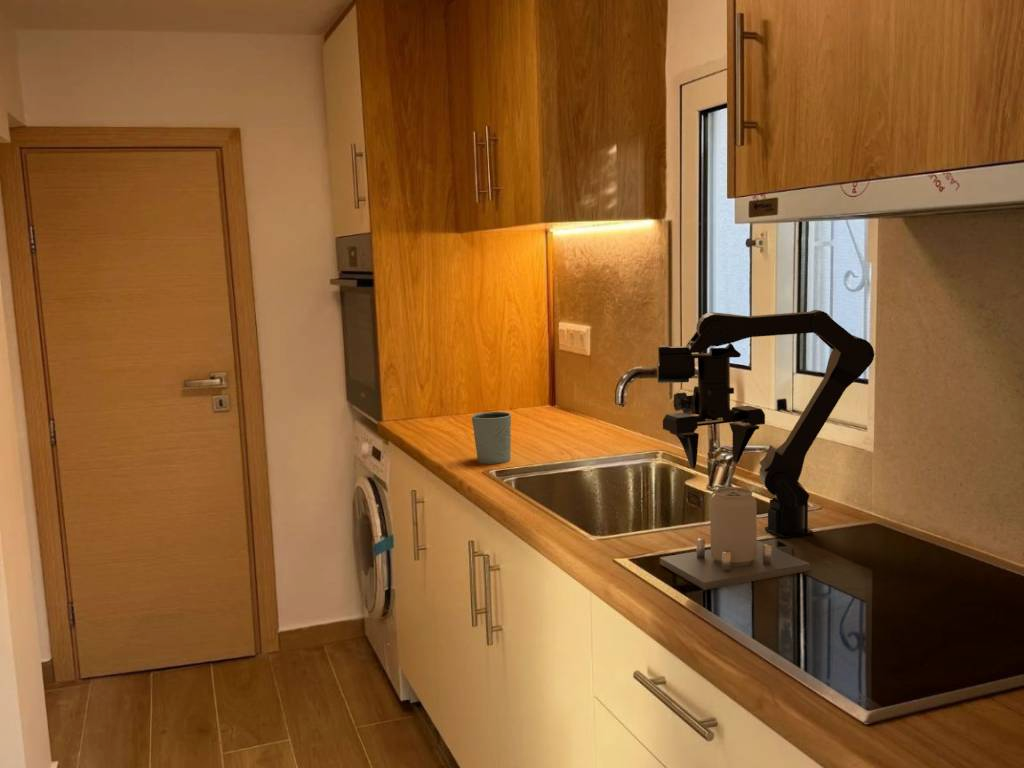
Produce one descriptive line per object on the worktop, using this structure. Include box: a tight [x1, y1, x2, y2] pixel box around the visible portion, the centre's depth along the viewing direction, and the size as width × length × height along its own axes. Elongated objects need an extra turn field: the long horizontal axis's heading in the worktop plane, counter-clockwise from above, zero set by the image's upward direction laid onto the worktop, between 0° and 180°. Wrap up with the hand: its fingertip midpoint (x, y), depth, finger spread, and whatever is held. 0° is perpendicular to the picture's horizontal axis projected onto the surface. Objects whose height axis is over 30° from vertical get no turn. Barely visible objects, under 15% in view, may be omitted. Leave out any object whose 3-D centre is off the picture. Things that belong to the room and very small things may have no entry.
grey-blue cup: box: [471, 411, 512, 465], centre depth 252 cm, size 10×10×12 cm
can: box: [709, 486, 758, 566], centre depth 162 cm, size 8×8×12 cm
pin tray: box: [659, 537, 811, 591], centre depth 163 cm, size 20×14×4 cm
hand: (714, 465), depth 181 cm, fingers open, 9 cm apart
